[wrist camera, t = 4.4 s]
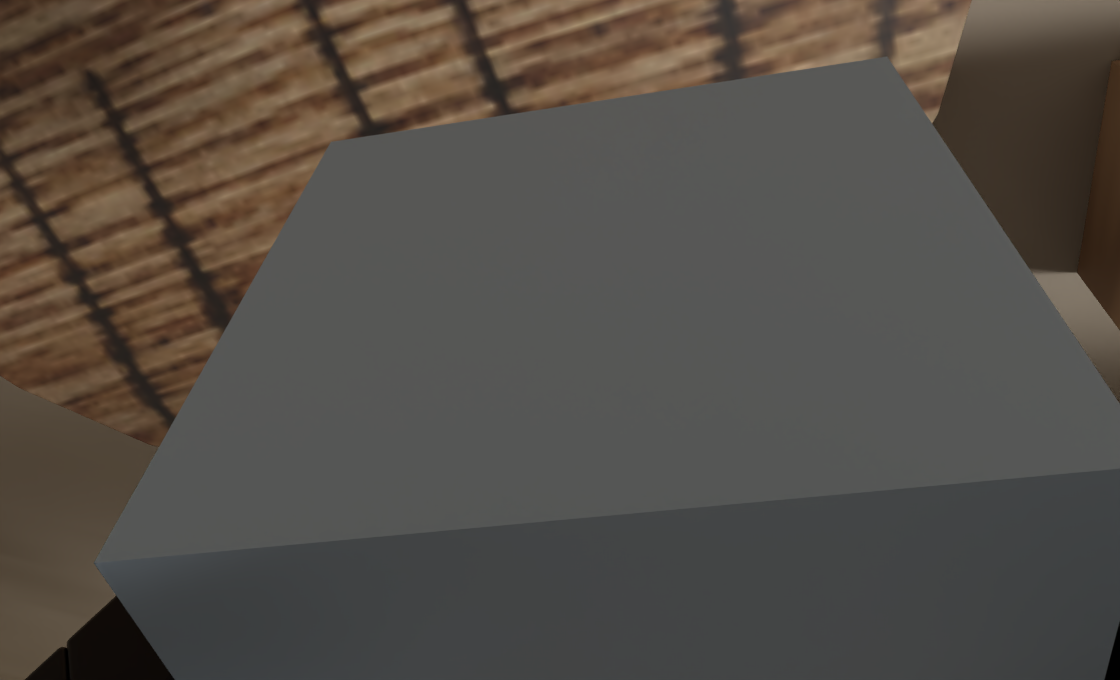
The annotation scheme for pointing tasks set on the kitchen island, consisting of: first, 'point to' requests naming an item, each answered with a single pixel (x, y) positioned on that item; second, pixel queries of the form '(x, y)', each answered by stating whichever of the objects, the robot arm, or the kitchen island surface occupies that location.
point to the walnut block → (1105, 209)
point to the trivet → (306, 140)
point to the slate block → (639, 414)
